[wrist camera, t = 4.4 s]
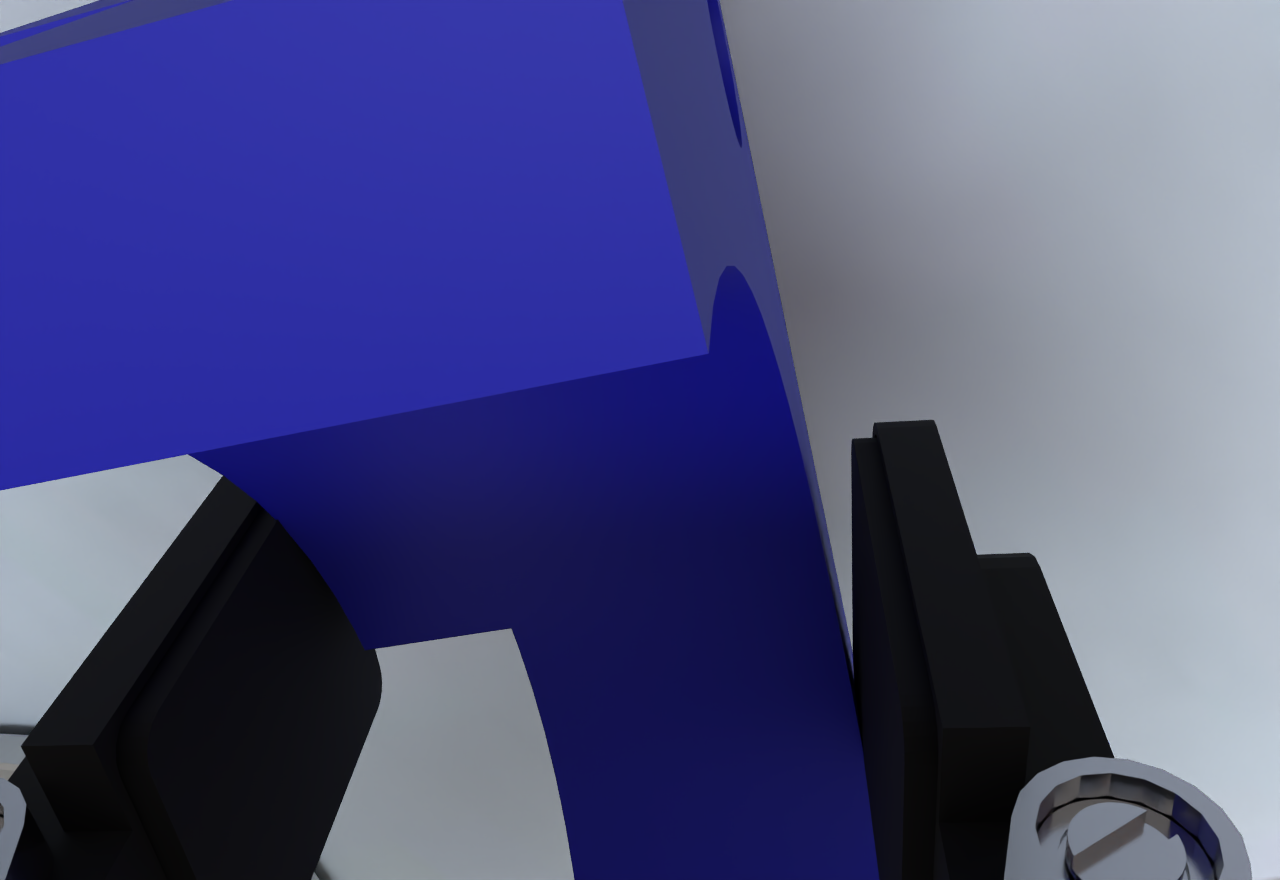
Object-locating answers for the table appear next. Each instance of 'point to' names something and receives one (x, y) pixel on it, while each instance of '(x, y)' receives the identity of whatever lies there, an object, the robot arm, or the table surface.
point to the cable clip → (462, 369)
